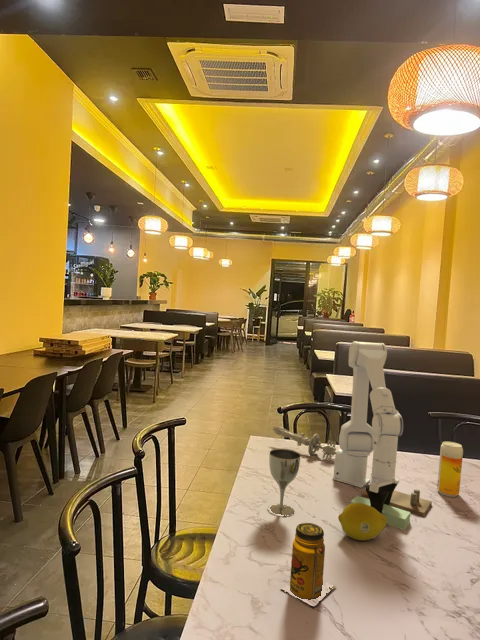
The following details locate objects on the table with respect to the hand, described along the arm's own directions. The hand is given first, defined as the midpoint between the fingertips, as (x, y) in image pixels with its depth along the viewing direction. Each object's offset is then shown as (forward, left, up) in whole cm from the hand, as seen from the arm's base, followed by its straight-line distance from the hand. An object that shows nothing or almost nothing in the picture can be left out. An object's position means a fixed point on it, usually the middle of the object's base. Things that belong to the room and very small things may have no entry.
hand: (380, 510), depth 116 cm
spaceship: (-34, +30, -2) cm, 46 cm away
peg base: (0, +13, -2) cm, 13 cm away
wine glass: (-21, -15, -2) cm, 26 cm away
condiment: (-1, -39, -2) cm, 39 cm away
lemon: (0, -14, -2) cm, 14 cm away
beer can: (+11, +30, -2) cm, 32 cm away
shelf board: (0, 0, -2) cm, 2 cm away
